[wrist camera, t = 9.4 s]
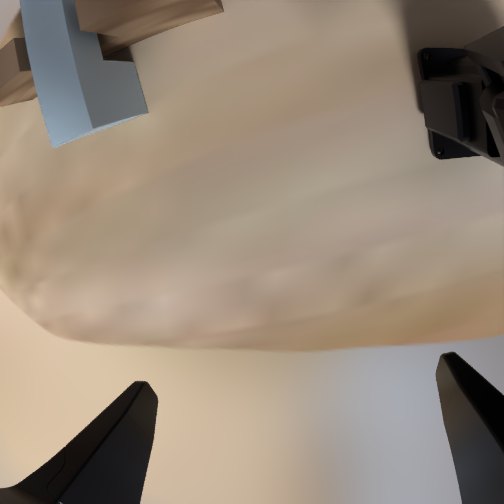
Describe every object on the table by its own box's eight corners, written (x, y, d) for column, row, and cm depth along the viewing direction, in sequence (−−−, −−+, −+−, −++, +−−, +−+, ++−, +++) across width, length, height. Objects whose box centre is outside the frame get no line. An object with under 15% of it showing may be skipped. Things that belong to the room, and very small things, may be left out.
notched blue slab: (112, -26, 12) (54, -51, 7) (148, 112, 17) (93, 128, 11) (79, -8, 13) (18, -22, 7) (113, 126, 17) (52, 148, 12)
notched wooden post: (215, -18, 13) (183, -58, 7) (223, 11, 13) (194, -21, 8) (26, 75, 15) (-37, 86, 10) (32, 99, 16) (-31, 116, 11)
